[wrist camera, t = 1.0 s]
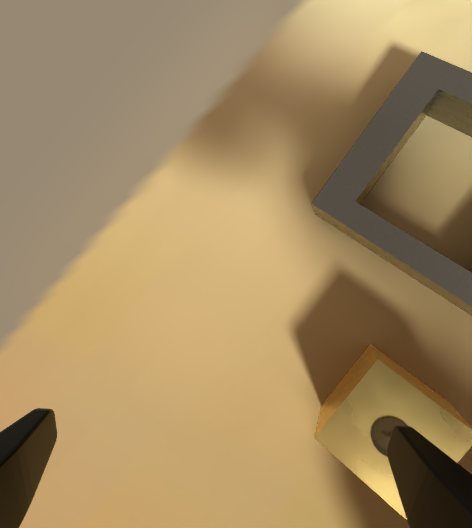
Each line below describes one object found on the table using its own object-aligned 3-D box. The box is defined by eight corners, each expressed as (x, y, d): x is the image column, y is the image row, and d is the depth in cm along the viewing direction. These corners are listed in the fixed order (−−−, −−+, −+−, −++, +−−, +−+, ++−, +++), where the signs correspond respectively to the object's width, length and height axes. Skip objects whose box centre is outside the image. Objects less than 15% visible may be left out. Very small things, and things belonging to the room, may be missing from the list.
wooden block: (446, 400, 17) (481, 437, 13) (391, 465, 18) (407, 521, 13) (370, 343, 19) (378, 359, 14) (321, 405, 19) (314, 438, 15)
